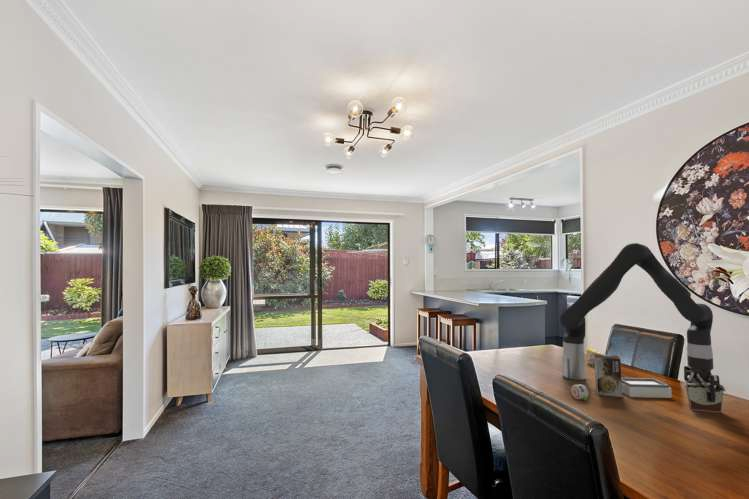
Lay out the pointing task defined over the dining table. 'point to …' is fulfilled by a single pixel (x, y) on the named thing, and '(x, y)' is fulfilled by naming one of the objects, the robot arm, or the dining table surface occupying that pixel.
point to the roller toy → (579, 392)
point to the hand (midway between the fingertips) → (702, 397)
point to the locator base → (645, 388)
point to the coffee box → (608, 375)
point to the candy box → (592, 356)
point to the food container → (703, 397)
